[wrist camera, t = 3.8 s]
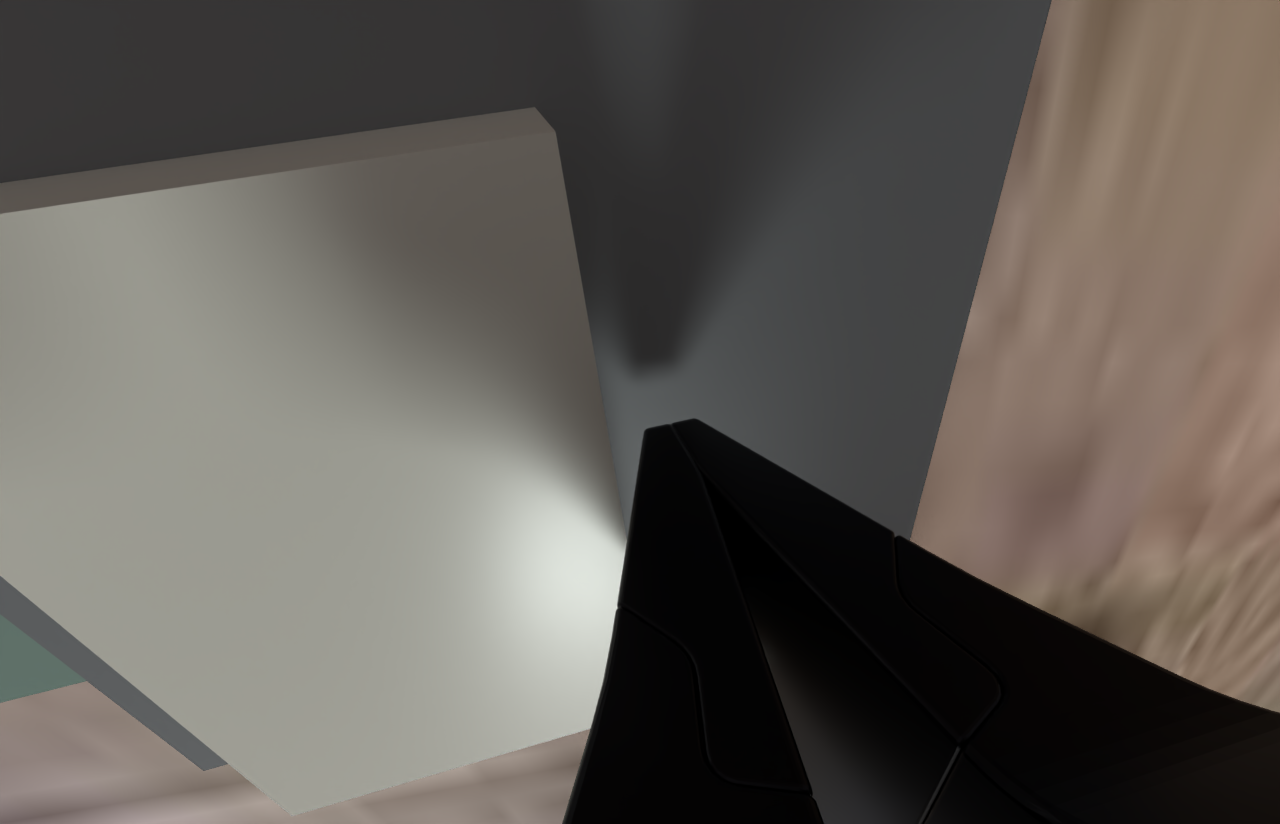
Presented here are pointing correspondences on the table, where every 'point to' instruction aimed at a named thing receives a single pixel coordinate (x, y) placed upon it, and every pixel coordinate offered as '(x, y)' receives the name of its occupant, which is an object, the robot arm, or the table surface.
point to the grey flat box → (619, 189)
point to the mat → (28, 665)
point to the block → (317, 446)
